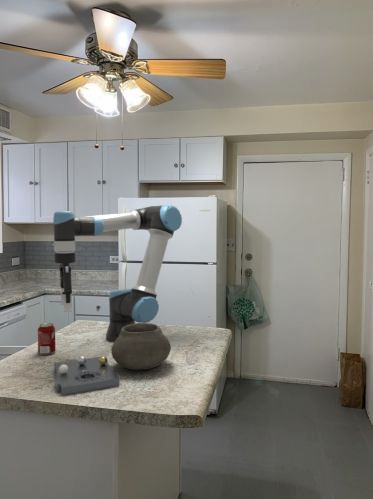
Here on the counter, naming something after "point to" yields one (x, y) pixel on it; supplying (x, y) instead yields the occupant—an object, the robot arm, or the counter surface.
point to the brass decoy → (103, 360)
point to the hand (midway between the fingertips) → (66, 308)
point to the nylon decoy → (63, 369)
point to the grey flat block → (85, 376)
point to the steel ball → (81, 360)
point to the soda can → (46, 339)
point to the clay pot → (140, 346)
